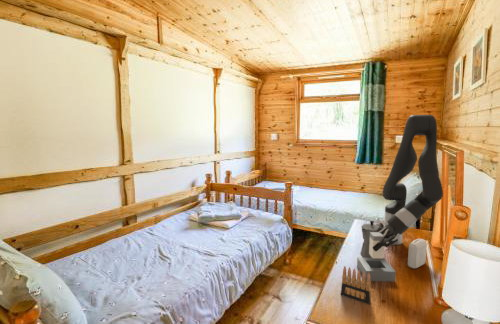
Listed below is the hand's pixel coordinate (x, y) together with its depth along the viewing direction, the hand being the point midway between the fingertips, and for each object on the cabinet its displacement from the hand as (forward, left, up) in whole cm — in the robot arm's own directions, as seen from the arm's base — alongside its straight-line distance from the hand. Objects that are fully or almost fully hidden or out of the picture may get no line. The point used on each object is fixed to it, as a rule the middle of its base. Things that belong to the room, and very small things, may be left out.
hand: (372, 247), depth 123 cm
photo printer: (-9, +24, -13) cm, 29 cm away
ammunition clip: (+18, -12, -13) cm, 25 cm away
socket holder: (0, +2, -12) cm, 13 cm away
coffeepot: (-18, +7, -13) cm, 23 cm away
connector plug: (0, +2, -4) cm, 4 cm away
